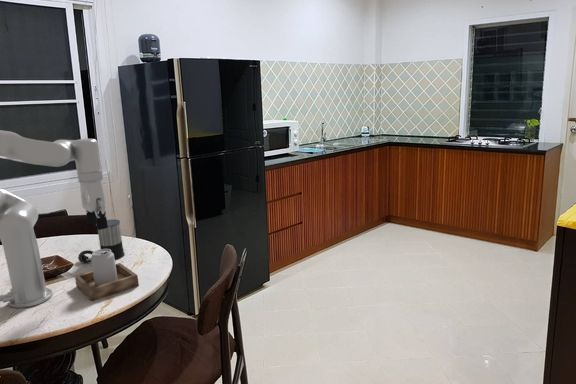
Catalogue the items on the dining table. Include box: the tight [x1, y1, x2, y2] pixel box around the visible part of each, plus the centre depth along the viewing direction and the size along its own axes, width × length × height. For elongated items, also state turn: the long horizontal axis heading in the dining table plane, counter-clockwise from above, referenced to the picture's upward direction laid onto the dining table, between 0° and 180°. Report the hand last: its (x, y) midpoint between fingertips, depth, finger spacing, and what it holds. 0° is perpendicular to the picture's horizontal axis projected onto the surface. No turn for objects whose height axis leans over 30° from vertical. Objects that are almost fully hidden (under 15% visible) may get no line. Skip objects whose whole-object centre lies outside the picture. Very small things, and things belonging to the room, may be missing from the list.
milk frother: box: [77, 219, 125, 264], centre depth 180 cm, size 14×16×15 cm
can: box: [90, 248, 118, 286], centre depth 154 cm, size 8×8×12 cm
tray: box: [74, 262, 140, 302], centre depth 155 cm, size 16×16×4 cm
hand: (97, 225), depth 150 cm, fingers open, 9 cm apart
